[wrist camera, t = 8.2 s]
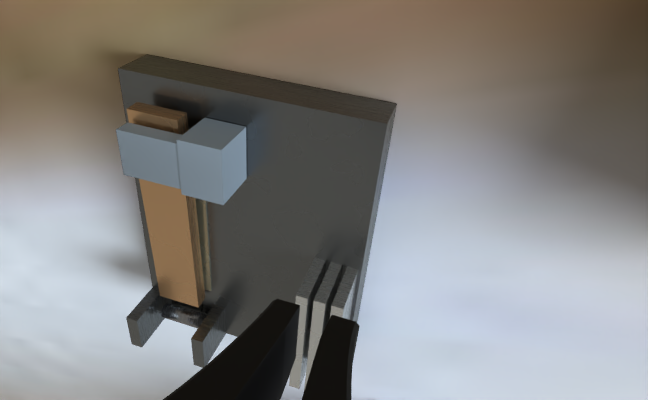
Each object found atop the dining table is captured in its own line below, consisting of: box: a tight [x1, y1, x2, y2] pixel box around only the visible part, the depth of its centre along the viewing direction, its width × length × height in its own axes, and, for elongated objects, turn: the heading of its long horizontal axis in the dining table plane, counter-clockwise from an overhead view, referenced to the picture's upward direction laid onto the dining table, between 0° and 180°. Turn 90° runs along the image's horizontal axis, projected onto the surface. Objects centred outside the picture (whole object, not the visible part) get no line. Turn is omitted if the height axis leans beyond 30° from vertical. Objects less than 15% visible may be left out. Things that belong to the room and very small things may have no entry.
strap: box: [127, 102, 207, 328], centre depth 22 cm, size 12×2×1 cm, turn 175°
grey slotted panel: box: [118, 55, 397, 391], centre depth 22 cm, size 14×11×4 cm
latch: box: [116, 118, 247, 205], centre depth 19 cm, size 2×4×2 cm, turn 85°
